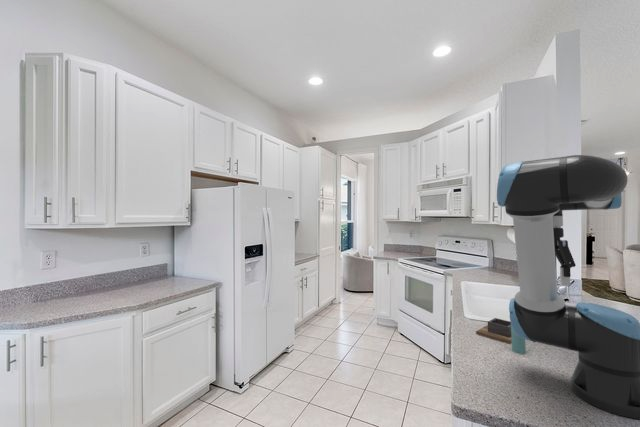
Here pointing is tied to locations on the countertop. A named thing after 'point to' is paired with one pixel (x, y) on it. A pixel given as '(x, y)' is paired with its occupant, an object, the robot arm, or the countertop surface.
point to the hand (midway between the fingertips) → (552, 282)
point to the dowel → (517, 343)
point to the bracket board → (497, 330)
